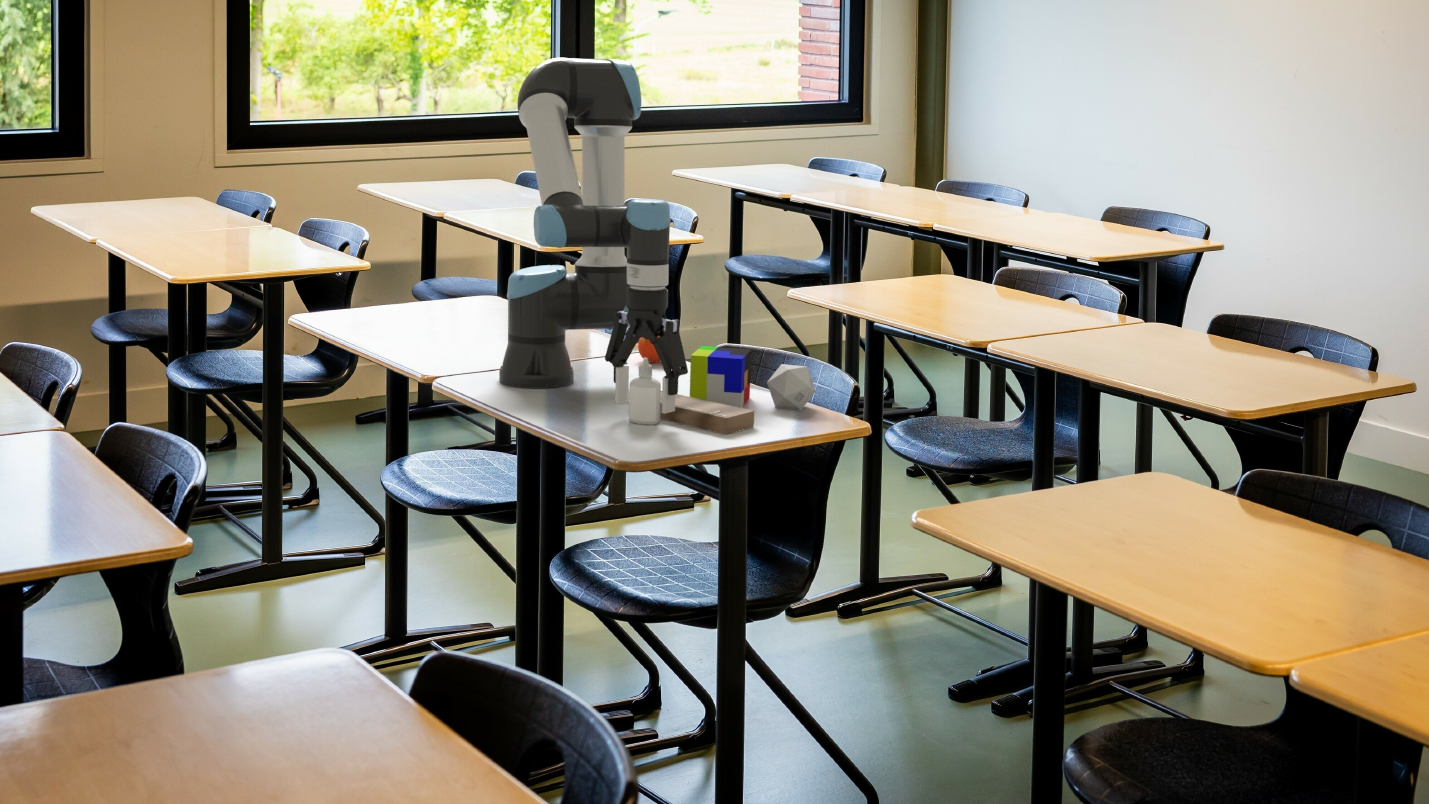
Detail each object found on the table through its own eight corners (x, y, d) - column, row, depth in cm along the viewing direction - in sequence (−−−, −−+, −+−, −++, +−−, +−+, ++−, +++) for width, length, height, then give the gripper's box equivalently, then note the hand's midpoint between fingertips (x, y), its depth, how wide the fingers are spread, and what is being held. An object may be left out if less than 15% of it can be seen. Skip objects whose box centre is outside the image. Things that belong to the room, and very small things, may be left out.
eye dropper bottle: (646, 427, 254) (647, 362, 251) (625, 421, 258) (626, 357, 255) (663, 423, 257) (665, 359, 254) (642, 417, 261) (644, 354, 258)
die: (786, 417, 267) (819, 376, 267) (752, 389, 270) (784, 348, 270) (797, 424, 275) (830, 384, 275) (764, 396, 278) (795, 357, 278)
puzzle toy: (740, 410, 270) (742, 358, 268) (689, 406, 272) (690, 355, 269) (749, 398, 279) (751, 349, 277) (700, 395, 281) (701, 346, 279)
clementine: (655, 367, 306) (656, 335, 305) (628, 363, 310) (629, 331, 308) (674, 361, 313) (675, 330, 311) (648, 357, 316) (649, 326, 315)
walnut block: (631, 412, 265) (631, 396, 264) (659, 405, 271) (659, 389, 270) (726, 434, 251) (726, 417, 250) (753, 426, 257) (754, 410, 256)
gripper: (585, 281, 256) (584, 399, 261) (682, 296, 242) (679, 421, 247) (614, 277, 262) (612, 393, 267) (710, 292, 248) (706, 414, 253)
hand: (644, 406), depth 257 cm, fingers open, 11 cm apart
